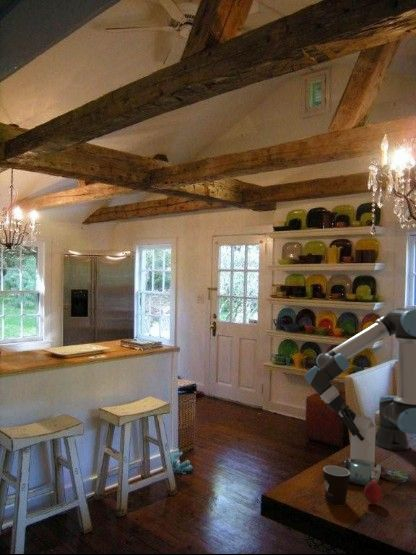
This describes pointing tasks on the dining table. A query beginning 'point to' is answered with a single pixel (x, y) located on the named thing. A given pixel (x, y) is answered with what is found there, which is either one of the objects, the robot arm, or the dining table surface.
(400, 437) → the robot arm
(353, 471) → the motor
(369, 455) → the milk carton
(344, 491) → the coffee mug
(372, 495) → the onion
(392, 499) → the dining table surface
